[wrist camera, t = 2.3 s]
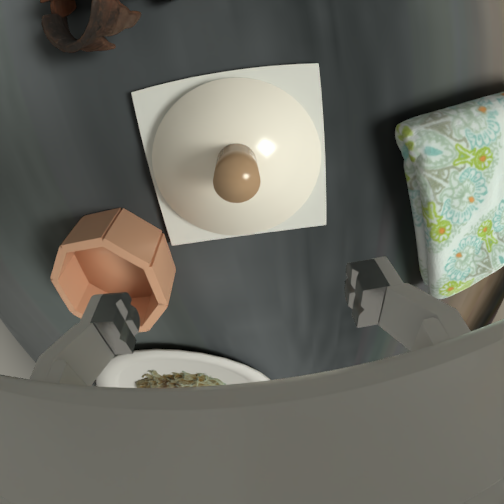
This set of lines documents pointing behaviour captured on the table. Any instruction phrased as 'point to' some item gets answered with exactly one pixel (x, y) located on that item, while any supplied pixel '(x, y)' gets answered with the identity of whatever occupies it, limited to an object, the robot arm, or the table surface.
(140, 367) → the plated food
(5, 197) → the table surface
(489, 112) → the towel
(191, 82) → the mat
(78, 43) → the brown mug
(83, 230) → the bowl
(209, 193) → the lid
